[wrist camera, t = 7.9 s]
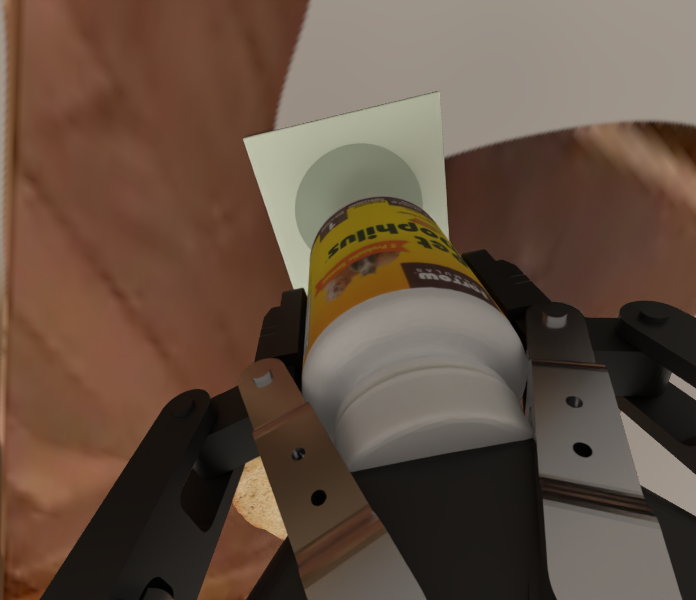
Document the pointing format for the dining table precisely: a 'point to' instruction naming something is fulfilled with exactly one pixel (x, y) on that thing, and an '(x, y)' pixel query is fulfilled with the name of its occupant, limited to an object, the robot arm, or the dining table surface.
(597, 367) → the robot arm
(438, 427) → the supplement bottle
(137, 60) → the dining table surface
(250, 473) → the bread slice
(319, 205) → the pad
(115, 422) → the dining table surface
